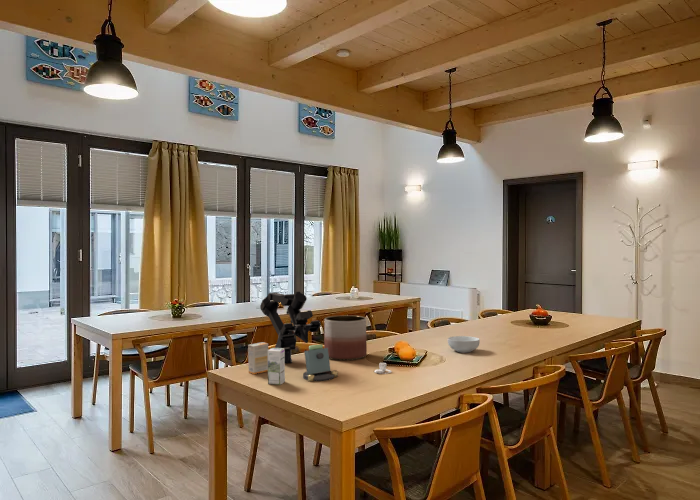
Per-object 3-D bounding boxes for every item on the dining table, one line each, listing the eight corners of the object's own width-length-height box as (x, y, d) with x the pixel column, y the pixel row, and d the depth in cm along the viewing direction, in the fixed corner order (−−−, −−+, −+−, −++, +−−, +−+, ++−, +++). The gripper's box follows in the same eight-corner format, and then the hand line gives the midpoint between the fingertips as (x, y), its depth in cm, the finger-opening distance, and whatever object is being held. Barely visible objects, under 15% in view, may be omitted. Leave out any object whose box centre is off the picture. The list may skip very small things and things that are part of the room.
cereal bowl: (477, 348, 282) (477, 335, 282) (481, 354, 265) (481, 341, 265) (446, 347, 284) (446, 335, 284) (449, 354, 267) (449, 341, 267)
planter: (334, 363, 249) (333, 322, 249) (318, 354, 269) (318, 316, 269) (373, 358, 258) (373, 319, 258) (355, 350, 278) (355, 314, 278)
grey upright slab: (307, 374, 222) (303, 346, 224) (326, 370, 227) (323, 344, 230) (313, 373, 217) (309, 345, 220) (332, 370, 223) (329, 343, 225)
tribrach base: (295, 375, 226) (295, 369, 226) (323, 370, 234) (323, 365, 234) (312, 383, 213) (312, 377, 213) (341, 377, 221) (341, 372, 221)
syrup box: (285, 381, 216) (285, 347, 216) (280, 385, 210) (280, 350, 210) (272, 380, 217) (272, 347, 217) (267, 384, 211) (267, 350, 211)
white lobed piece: (379, 375, 226) (379, 366, 226) (369, 372, 233) (369, 363, 233) (395, 373, 231) (394, 364, 231) (384, 369, 237) (384, 360, 237)
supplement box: (262, 369, 237) (262, 341, 236) (268, 371, 233) (268, 343, 233) (247, 372, 231) (247, 344, 231) (253, 374, 227) (253, 345, 227)
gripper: (283, 306, 231) (294, 333, 222) (318, 303, 241) (330, 329, 232) (276, 321, 238) (286, 348, 229) (311, 318, 248) (322, 344, 239)
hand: (307, 342), depth 232 cm, fingers closed
